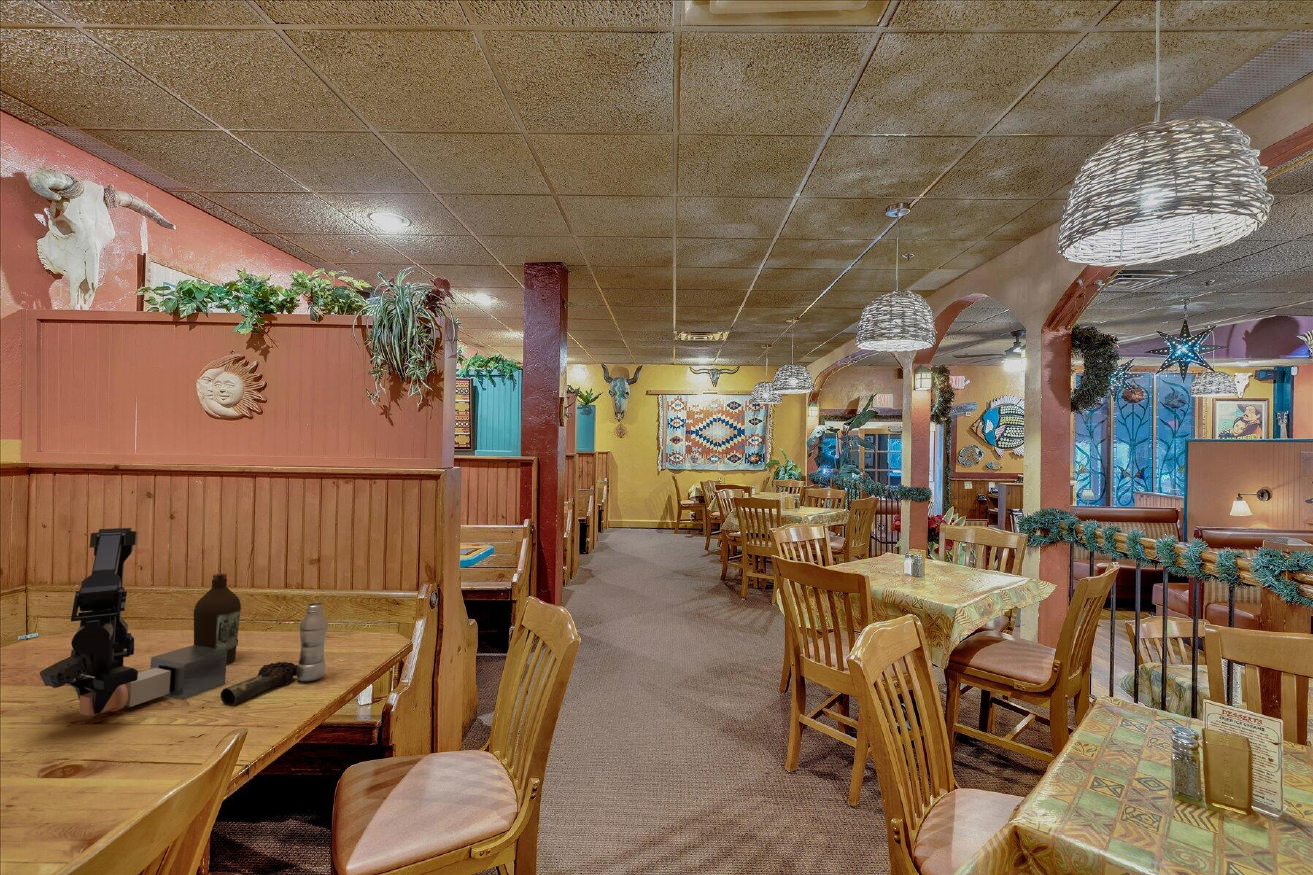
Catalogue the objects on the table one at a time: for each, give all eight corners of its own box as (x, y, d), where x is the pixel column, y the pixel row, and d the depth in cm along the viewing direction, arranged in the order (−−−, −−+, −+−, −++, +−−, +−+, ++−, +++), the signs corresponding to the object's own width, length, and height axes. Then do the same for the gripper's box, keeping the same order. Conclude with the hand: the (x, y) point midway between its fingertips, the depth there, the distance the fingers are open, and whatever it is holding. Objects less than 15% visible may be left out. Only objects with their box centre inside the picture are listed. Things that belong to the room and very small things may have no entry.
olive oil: (180, 667, 155) (185, 576, 156) (216, 654, 166) (221, 569, 166) (212, 671, 153) (218, 579, 154) (247, 658, 164) (252, 572, 165)
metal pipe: (234, 708, 133) (235, 684, 133) (214, 704, 135) (214, 680, 135) (301, 680, 150) (302, 659, 150) (282, 677, 152) (283, 655, 152)
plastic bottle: (303, 675, 153) (307, 601, 154) (329, 674, 154) (333, 601, 154) (290, 684, 147) (294, 607, 147) (317, 684, 147) (321, 607, 148)
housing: (148, 691, 140) (151, 657, 140) (192, 677, 149) (194, 644, 150) (182, 699, 136) (184, 663, 136) (225, 683, 146) (227, 650, 146)
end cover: (74, 717, 124) (76, 688, 124) (152, 691, 138) (154, 665, 138) (92, 722, 122) (94, 692, 122) (170, 695, 136) (172, 668, 136)
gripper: (21, 646, 120) (16, 720, 119) (77, 658, 114) (72, 736, 114) (87, 631, 131) (82, 699, 130) (141, 641, 125) (137, 713, 124)
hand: (92, 711), depth 124 cm, fingers closed on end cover, 3 cm apart
